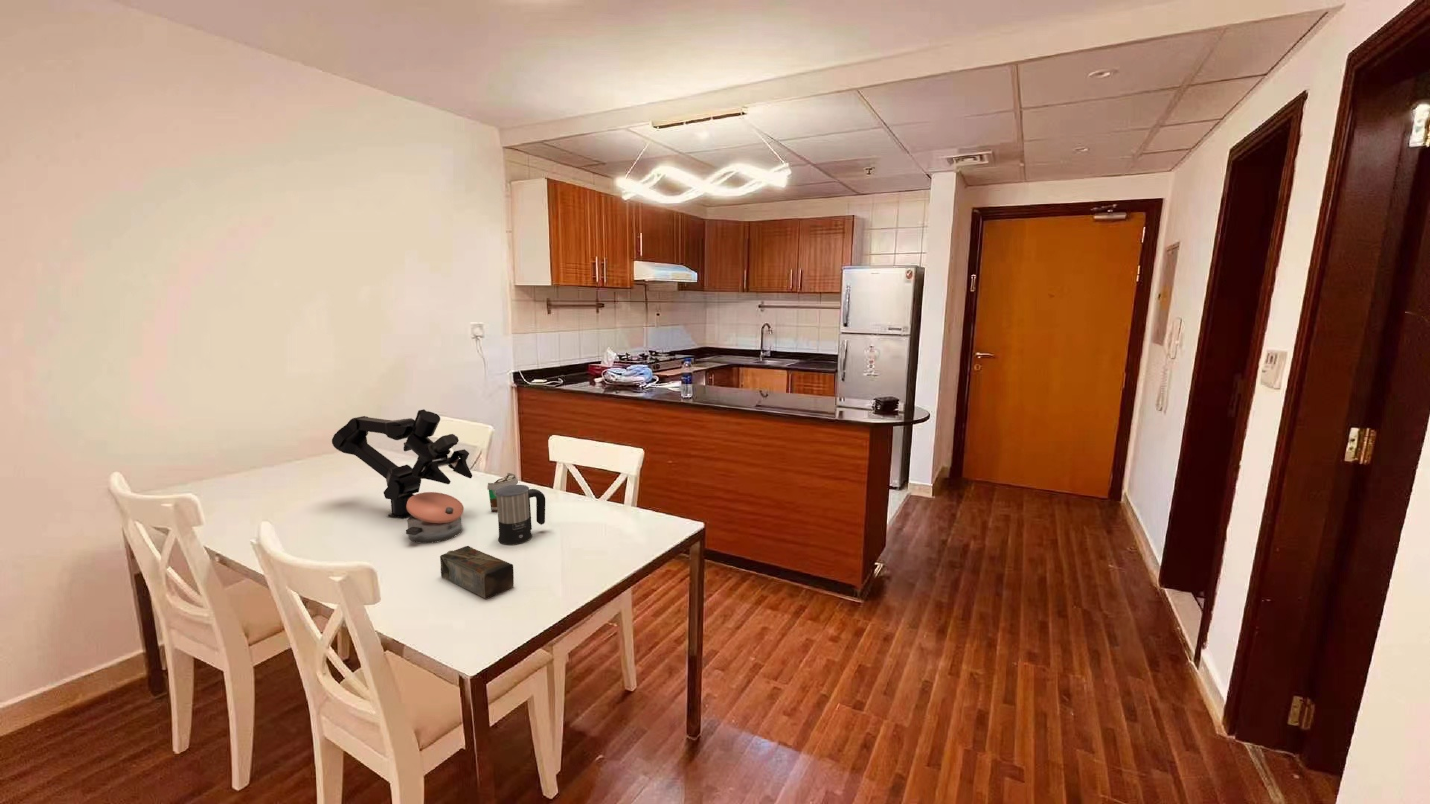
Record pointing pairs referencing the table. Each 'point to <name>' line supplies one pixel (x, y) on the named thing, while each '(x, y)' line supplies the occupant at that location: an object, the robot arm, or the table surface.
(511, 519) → the milk frother
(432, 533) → the pot
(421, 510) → the lid
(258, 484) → the table surface
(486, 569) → the beverage carton
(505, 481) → the food container
